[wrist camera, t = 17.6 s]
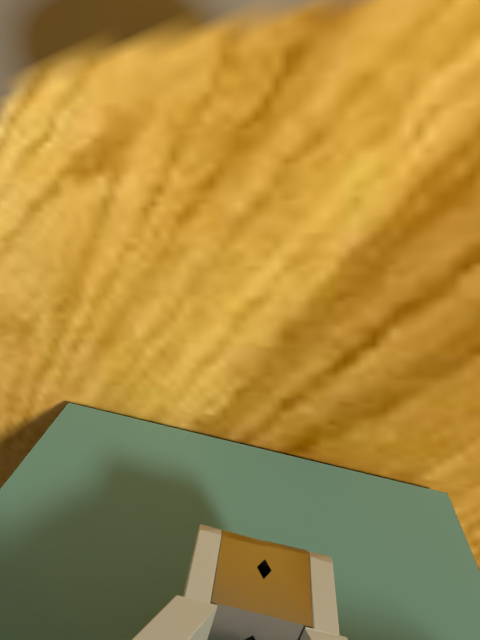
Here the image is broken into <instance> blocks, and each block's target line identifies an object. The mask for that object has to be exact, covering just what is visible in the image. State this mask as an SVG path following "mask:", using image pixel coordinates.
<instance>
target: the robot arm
mask: <svg viewBox="0 0 480 640" xmlns="http://www.w3.org/2000/svg"><path fill="white" fill-rule="evenodd" d="M132 640H348V639H347V637H344V636H341V635H340V634H339V624H338V613H337V603H336V592H335V582H334V571H333V561H332V559H331V557H330V556H326V555H322V554H318V553H314V552H310V551H307V550H304V549H299V548H295V547H291V546H286V545H282V544H278V543H273V542H269V541H265V540H264V541H261V540H258V539H254V538H250V537H247V536H243V535H239V534H236V533H232V532H229V531H225V530H221V529H217V528H213V527H210V526H206V525H202V524H200V526H199V530H198V533H197V537H196V541H195V545H194V549H193V553H192V557H191V561H190V565H189V569H188V573H187V577H186V581H185V585H184V590H183V594H182V596H180V595H176V596H175V597H174V598H173V599H172V600H171V601H170V602H169V603H168V604H167V605H166V606H165V607H164V608H163V609H162V610H161V611H160V612H159V613H158V614H157V615H156V616H155V617H154V618H153V619H152V620H151V621H150V622H149V623H148V624H147V625H146V626H145V627H144V628H143V629H142V630H141V631H140V632H139V633H138V634H137V635H136V636H135V637H134V638H133V639H132Z"/></svg>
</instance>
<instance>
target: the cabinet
mask: <svg viewBox="0 0 480 640" xmlns="http://www.w3.org/2000/svg"><path fill="white" fill-rule="evenodd" d="M200 524H202V525H206V526H210V527H213V528H217V529H221V530H225V531H229V532H232V533H236V534H239V535H243V536H247V537H250V538H254V539H258V540H261V541H264V540H265V541H269V542H273V543H278V544H282V545H286V546H291V547H295V548H299V549H304V550H307V551H310V552H314V553H318V554H322V555H326V556H330V557H331V559H332V561H333V571H334V582H335V592H336V603H337V613H338V624H339V634H340V635H341V636H344V637H347V639H348V640H480V571H479V569H478V566H477V564H476V561H475V559H474V557H473V554H472V552H471V549H470V547H469V544H468V542H467V540H466V537H465V535H464V532H463V530H462V527H461V525H460V523H459V520H458V518H457V515H456V513H455V510H454V508H453V506H452V503H451V501H450V498H449V496H448V493H444V492H440V491H436V490H432V489H427V488H423V487H419V486H415V485H411V484H406V483H402V482H398V481H394V480H390V479H386V478H381V477H377V476H373V475H369V474H365V473H360V472H356V471H352V470H348V469H344V468H340V467H335V466H331V465H327V464H323V463H319V462H315V461H310V460H306V459H302V458H298V457H294V456H289V455H285V454H281V453H277V452H273V451H269V450H264V449H260V448H256V447H252V446H248V445H243V444H239V443H235V442H231V441H227V440H223V439H218V438H214V437H210V436H206V435H202V434H197V433H193V432H189V431H185V430H181V429H177V428H172V427H168V426H164V425H160V424H156V423H151V422H147V421H143V420H139V419H135V418H131V417H126V416H122V415H118V414H114V413H110V412H105V411H101V410H97V409H93V408H89V407H85V406H80V405H76V404H72V403H68V404H67V405H66V407H65V408H64V409H63V410H62V412H61V413H60V414H59V415H58V417H57V418H56V419H55V420H54V422H53V423H52V424H51V426H50V427H49V428H48V429H47V431H46V432H45V433H44V434H43V436H42V437H41V438H40V439H39V441H38V442H37V443H36V445H35V446H34V447H33V448H32V450H31V451H30V452H29V453H28V455H27V456H26V457H25V458H24V460H23V461H22V462H21V463H20V465H19V466H18V467H17V469H16V470H15V471H14V472H13V474H12V475H11V476H10V477H9V479H8V480H7V481H6V482H5V484H4V485H3V486H2V488H1V489H0V640H132V639H133V638H134V637H135V636H136V635H137V634H138V633H139V632H140V631H141V630H142V629H143V628H144V627H145V626H146V625H147V624H148V623H149V622H150V621H151V620H152V619H153V618H154V617H155V616H156V615H157V614H158V613H159V612H160V611H161V610H162V609H163V608H164V607H165V606H166V605H167V604H168V603H169V602H170V601H171V600H172V599H173V598H174V597H175V596H176V595H180V596H182V594H183V590H184V585H185V581H186V577H187V573H188V569H189V565H190V561H191V557H192V553H193V549H194V545H195V541H196V537H197V533H198V530H199V526H200Z"/></svg>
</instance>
